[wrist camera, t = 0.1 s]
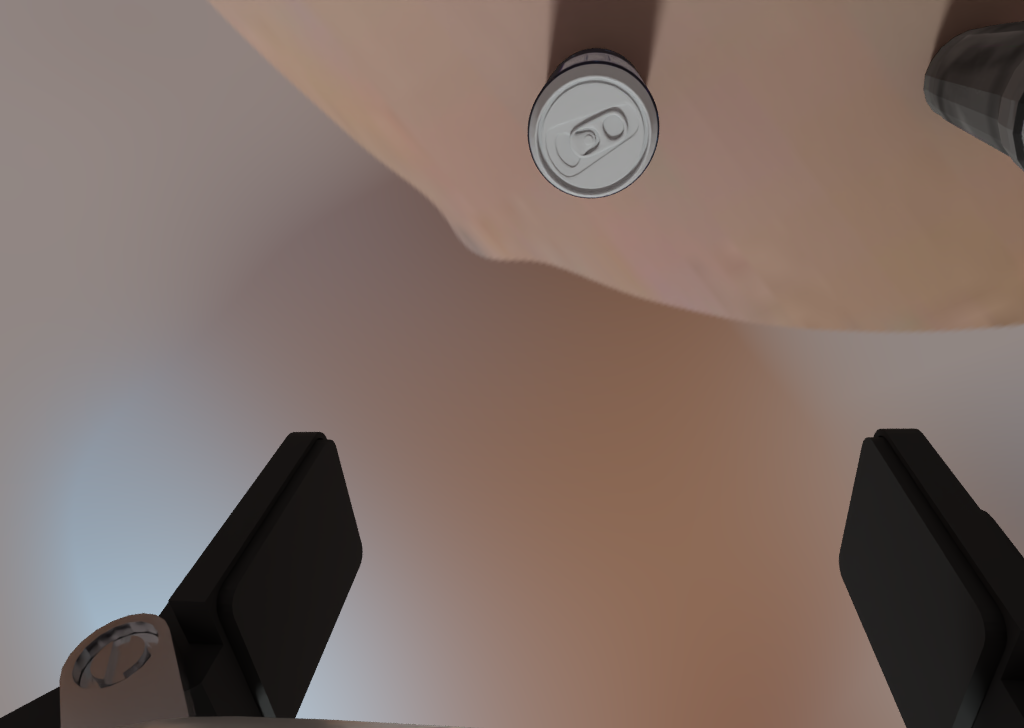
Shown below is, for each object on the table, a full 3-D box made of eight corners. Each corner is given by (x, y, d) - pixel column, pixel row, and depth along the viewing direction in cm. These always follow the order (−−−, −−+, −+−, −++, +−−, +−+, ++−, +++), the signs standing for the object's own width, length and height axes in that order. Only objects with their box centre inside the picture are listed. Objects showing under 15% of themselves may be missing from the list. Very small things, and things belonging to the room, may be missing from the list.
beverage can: (528, 78, 37) (501, 106, 27) (620, 27, 35) (629, 35, 25) (570, 168, 39) (560, 227, 29) (658, 125, 38) (682, 170, 27)
